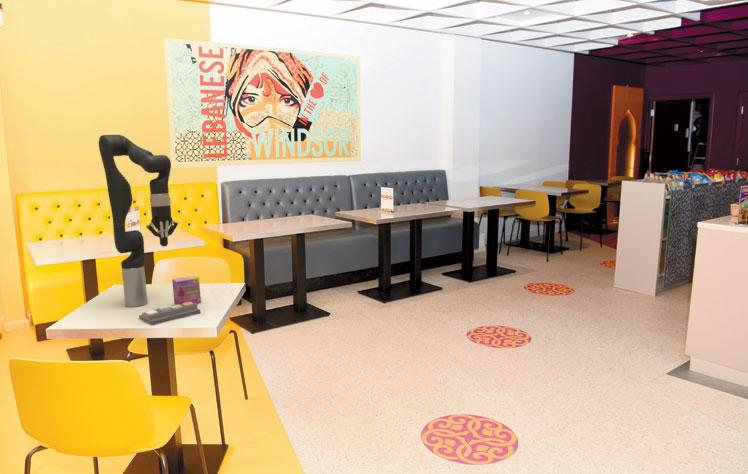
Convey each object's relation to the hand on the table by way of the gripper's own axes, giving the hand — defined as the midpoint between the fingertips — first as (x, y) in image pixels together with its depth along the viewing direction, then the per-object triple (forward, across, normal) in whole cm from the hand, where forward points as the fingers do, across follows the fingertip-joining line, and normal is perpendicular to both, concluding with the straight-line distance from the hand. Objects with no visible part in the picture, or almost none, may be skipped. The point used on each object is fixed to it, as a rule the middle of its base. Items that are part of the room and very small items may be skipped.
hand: (164, 246), depth 231 cm
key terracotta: (+27, -6, +4) cm, 28 cm away
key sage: (+27, -1, +4) cm, 27 cm away
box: (+29, -12, -8) cm, 33 cm away
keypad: (+29, +2, +4) cm, 29 cm away
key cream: (+27, +9, +4) cm, 29 cm away
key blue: (+26, +4, +4) cm, 27 cm away
